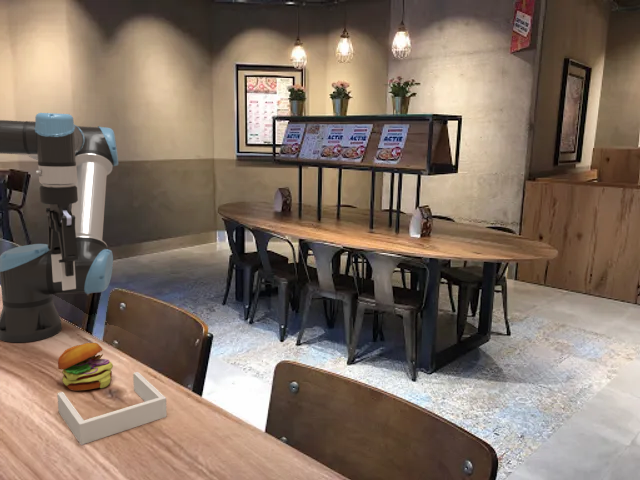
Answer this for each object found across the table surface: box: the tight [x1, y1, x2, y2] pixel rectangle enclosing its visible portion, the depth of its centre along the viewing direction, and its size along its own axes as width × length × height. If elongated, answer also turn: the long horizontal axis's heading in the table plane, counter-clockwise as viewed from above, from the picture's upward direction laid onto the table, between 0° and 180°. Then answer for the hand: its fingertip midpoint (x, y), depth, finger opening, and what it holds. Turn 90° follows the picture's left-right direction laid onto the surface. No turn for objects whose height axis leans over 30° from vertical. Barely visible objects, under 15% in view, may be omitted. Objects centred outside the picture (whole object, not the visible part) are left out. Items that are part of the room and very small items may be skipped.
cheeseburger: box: [57, 342, 114, 392], centre depth 116 cm, size 10×11×10 cm
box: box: [57, 371, 167, 446], centre depth 104 cm, size 14×16×4 cm
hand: (64, 284), depth 122 cm, fingers open, 7 cm apart
